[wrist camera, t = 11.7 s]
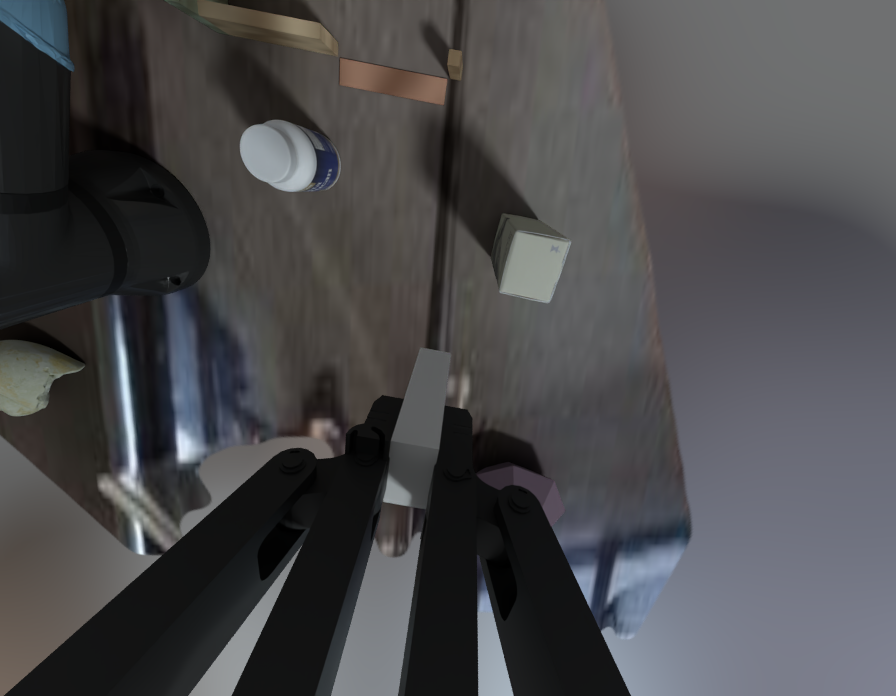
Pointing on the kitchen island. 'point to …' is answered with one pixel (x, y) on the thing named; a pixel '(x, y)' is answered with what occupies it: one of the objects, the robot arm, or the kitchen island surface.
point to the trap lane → (319, 48)
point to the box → (528, 257)
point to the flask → (526, 486)
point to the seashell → (30, 375)
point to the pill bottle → (290, 156)
